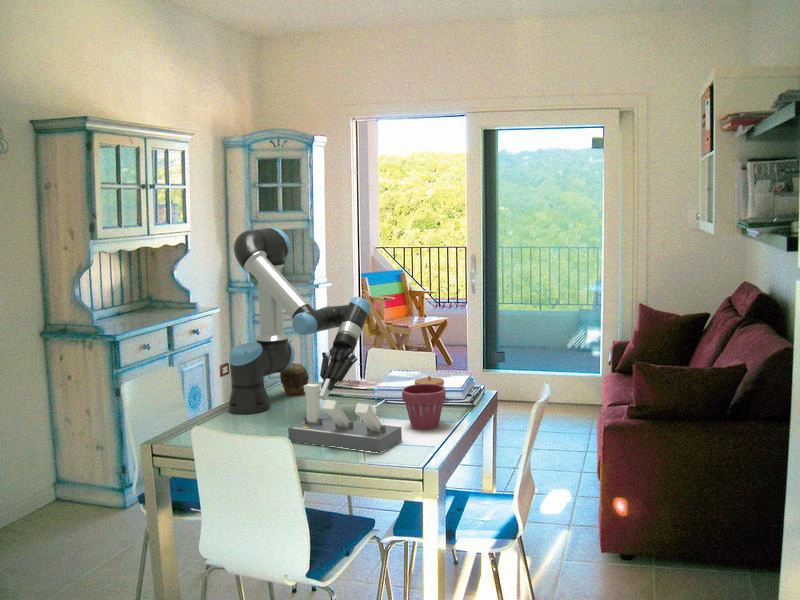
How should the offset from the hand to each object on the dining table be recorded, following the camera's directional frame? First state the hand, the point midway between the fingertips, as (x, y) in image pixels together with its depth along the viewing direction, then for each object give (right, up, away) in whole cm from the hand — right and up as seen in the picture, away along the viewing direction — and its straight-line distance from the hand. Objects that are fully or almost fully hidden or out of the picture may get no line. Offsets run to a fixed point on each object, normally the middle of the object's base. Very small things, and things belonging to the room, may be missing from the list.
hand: (322, 397), depth 280 cm
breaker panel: (+8, -13, -9) cm, 17 cm away
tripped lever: (-3, -7, -4) cm, 8 cm away
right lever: (+18, -8, -15) cm, 24 cm away
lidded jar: (+36, -6, +37) cm, 52 cm away
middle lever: (+8, -7, -9) cm, 14 cm away
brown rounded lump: (-16, -5, +55) cm, 57 cm away
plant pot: (+33, -10, +5) cm, 35 cm away
